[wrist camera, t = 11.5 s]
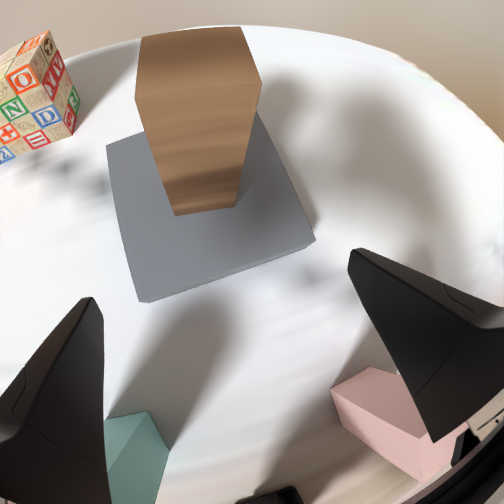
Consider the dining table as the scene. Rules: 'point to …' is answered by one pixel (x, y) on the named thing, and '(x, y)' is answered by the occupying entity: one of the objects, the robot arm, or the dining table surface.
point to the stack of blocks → (34, 97)
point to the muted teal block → (134, 458)
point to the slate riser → (203, 220)
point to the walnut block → (198, 113)
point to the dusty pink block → (391, 422)
